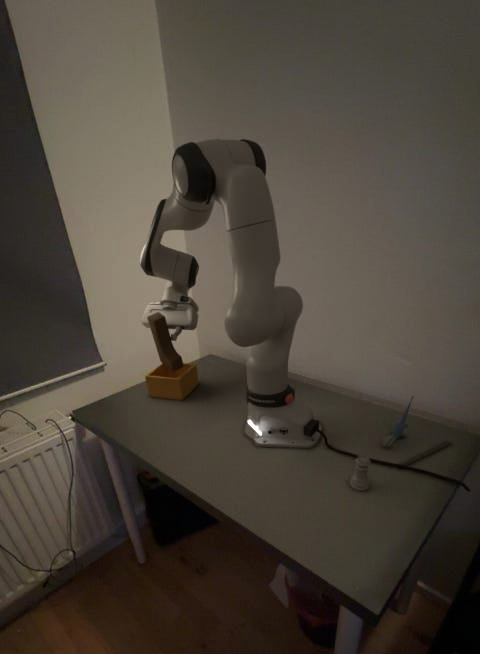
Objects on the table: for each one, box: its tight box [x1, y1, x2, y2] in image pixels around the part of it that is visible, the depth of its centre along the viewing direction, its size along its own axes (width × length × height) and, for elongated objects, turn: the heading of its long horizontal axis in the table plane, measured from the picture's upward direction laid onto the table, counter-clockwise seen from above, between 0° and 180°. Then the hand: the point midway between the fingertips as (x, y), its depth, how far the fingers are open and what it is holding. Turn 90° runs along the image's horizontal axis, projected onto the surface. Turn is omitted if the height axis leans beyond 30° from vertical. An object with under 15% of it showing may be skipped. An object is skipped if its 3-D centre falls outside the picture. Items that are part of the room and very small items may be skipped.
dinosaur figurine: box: [380, 395, 414, 449], centre depth 93 cm, size 3×15×10 cm
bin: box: [144, 362, 200, 401], centre depth 128 cm, size 14×14×8 cm
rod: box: [397, 442, 451, 470], centre depth 89 cm, size 1×19×1 cm, turn 118°
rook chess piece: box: [349, 454, 372, 492], centre depth 79 cm, size 4×4×8 cm
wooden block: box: [147, 312, 184, 372], centre depth 117 cm, size 9×4×18 cm, turn 41°
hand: (164, 339), depth 119 cm, fingers closed on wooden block, 5 cm apart
